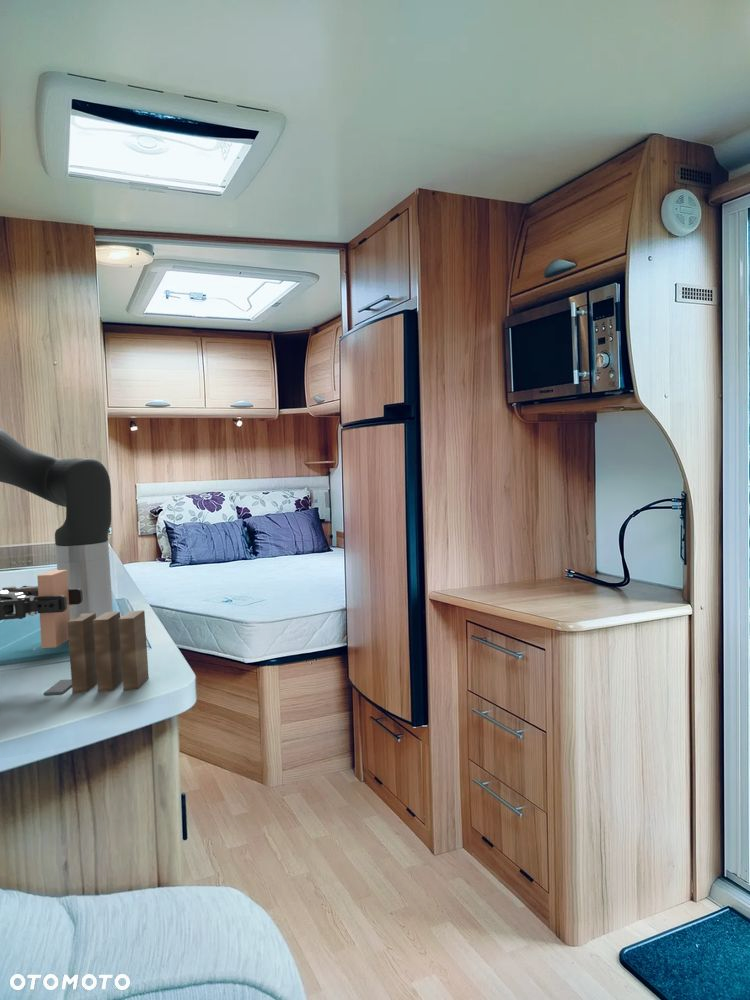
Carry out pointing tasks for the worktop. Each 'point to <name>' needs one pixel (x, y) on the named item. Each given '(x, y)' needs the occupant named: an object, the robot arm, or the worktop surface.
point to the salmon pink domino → (54, 623)
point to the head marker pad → (59, 687)
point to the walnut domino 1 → (82, 652)
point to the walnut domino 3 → (133, 649)
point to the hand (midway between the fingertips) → (73, 599)
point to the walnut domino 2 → (108, 651)
